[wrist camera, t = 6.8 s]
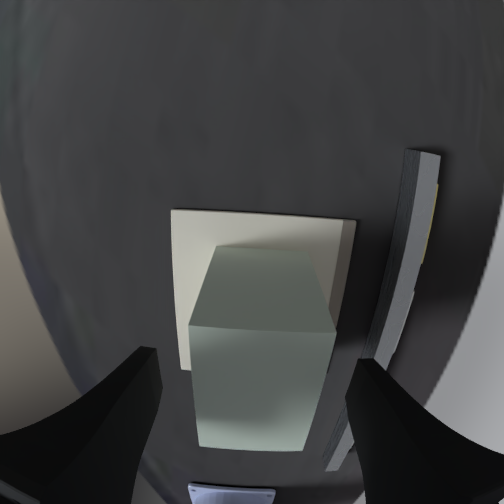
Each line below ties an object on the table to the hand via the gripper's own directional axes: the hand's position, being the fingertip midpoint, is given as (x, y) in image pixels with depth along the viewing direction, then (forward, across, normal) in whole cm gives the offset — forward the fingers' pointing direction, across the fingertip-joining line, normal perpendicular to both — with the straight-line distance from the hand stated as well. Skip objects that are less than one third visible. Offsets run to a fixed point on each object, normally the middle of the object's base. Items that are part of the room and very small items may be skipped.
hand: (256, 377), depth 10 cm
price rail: (+5, -6, +3) cm, 9 cm away
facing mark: (+5, 0, 0) cm, 5 cm away
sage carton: (+5, 0, 0) cm, 5 cm away
